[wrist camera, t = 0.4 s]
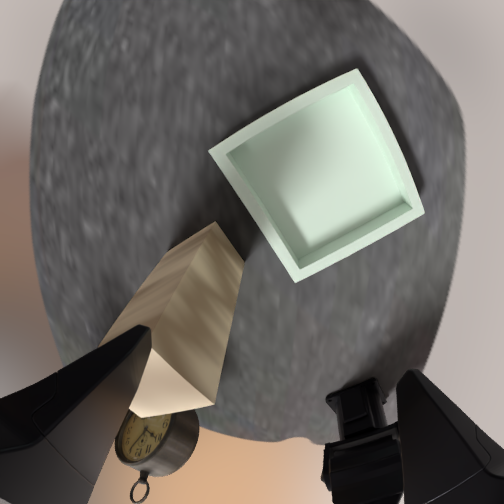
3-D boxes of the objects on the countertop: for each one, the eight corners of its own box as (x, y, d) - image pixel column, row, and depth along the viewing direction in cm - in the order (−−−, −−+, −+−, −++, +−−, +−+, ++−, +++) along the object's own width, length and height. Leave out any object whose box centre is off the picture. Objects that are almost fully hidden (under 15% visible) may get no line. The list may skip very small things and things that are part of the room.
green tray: (413, 205, 19) (424, 213, 17) (293, 269, 22) (295, 283, 20) (349, 73, 15) (357, 68, 13) (214, 148, 18) (208, 150, 17)
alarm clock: (185, 370, 28) (145, 501, 14) (216, 395, 30) (191, 517, 15) (131, 389, 32) (90, 487, 17) (159, 410, 33) (128, 505, 19)
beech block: (244, 262, 22) (214, 404, 10) (195, 288, 23) (141, 417, 12) (215, 221, 21) (146, 342, 9) (167, 251, 22) (83, 369, 10)
